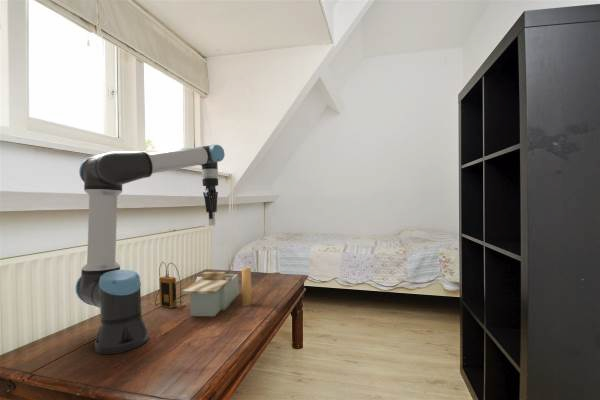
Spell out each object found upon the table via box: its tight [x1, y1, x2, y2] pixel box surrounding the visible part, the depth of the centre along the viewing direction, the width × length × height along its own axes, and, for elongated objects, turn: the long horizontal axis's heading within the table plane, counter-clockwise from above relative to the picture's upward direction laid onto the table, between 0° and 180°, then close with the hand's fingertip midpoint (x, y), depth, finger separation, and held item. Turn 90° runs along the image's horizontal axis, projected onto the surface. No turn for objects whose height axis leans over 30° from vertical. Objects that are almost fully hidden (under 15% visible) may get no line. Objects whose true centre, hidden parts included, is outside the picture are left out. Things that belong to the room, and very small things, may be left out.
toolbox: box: [189, 273, 239, 317], centre depth 136 cm, size 14×27×10 cm, turn 175°
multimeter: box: [154, 261, 187, 309], centre depth 138 cm, size 15×10×20 cm
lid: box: [181, 271, 232, 295], centre depth 130 cm, size 14×20×4 cm
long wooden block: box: [241, 267, 253, 307], centre depth 135 cm, size 4×4×16 cm
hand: (212, 225), depth 151 cm, fingers closed
